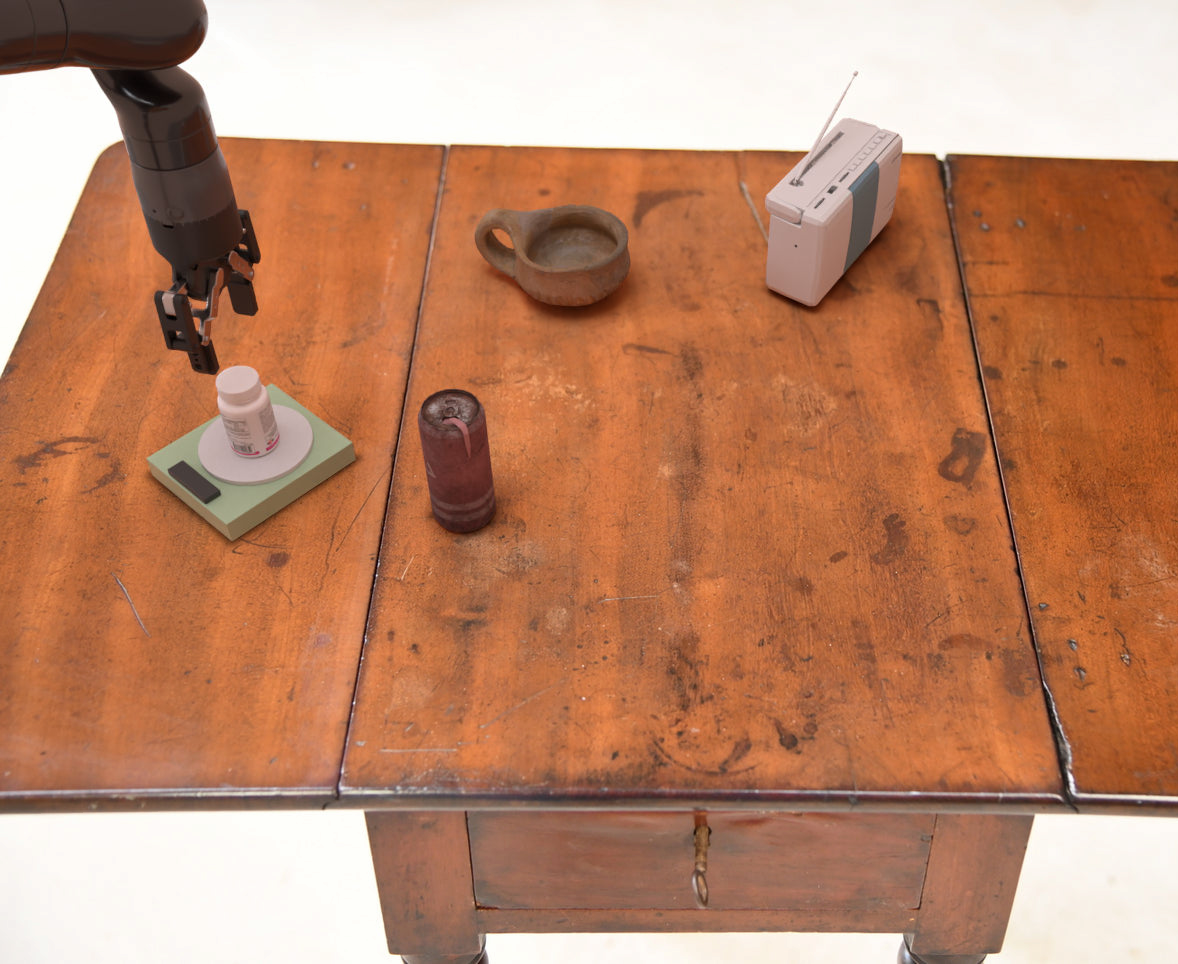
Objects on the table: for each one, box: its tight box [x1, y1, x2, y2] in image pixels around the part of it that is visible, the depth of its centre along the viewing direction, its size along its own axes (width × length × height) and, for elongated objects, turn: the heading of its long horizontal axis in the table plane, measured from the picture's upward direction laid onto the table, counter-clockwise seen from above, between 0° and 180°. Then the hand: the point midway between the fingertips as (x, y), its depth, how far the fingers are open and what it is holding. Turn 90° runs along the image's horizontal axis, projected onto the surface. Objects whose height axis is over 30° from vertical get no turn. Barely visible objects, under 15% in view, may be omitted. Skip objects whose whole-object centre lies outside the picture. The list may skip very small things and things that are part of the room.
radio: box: [764, 70, 904, 307], centre depth 160 cm, size 21×8×20 cm, turn 150°
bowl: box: [474, 203, 631, 307], centre depth 158 cm, size 18×14×10 cm
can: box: [417, 388, 497, 534], centre depth 132 cm, size 6×6×14 cm
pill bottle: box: [215, 365, 279, 458], centre depth 135 cm, size 5×5×8 cm
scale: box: [145, 382, 357, 542], centre depth 139 cm, size 15×13×3 cm
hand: (227, 341), depth 129 cm, fingers open, 8 cm apart
